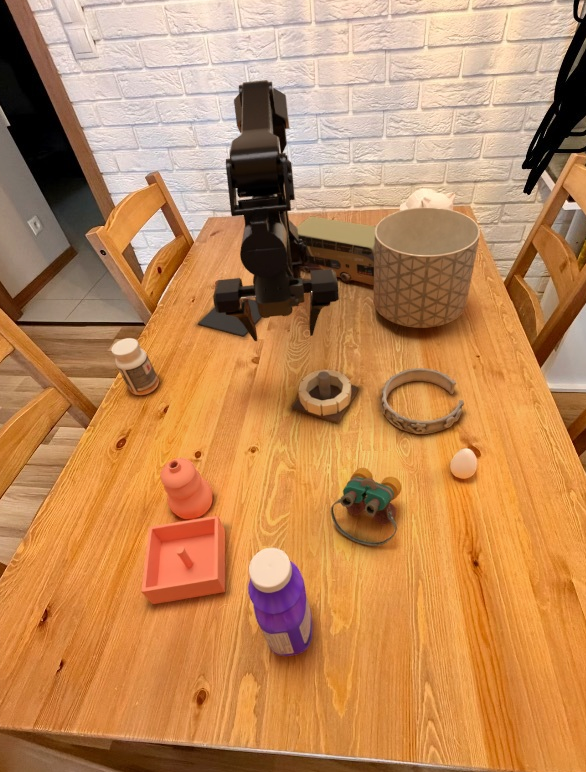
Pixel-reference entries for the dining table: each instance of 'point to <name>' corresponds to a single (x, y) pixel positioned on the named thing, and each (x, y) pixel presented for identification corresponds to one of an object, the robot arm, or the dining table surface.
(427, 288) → the planter
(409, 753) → the dining table surface
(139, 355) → the pill bottle
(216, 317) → the rubber mat
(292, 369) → the dining table surface
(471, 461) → the egg
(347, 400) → the beige segmented ring
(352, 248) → the toy bus
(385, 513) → the binoculars
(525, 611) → the dining table surface
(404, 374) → the bracelet
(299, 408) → the stand
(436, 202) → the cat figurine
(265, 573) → the bottle
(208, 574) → the pottery
